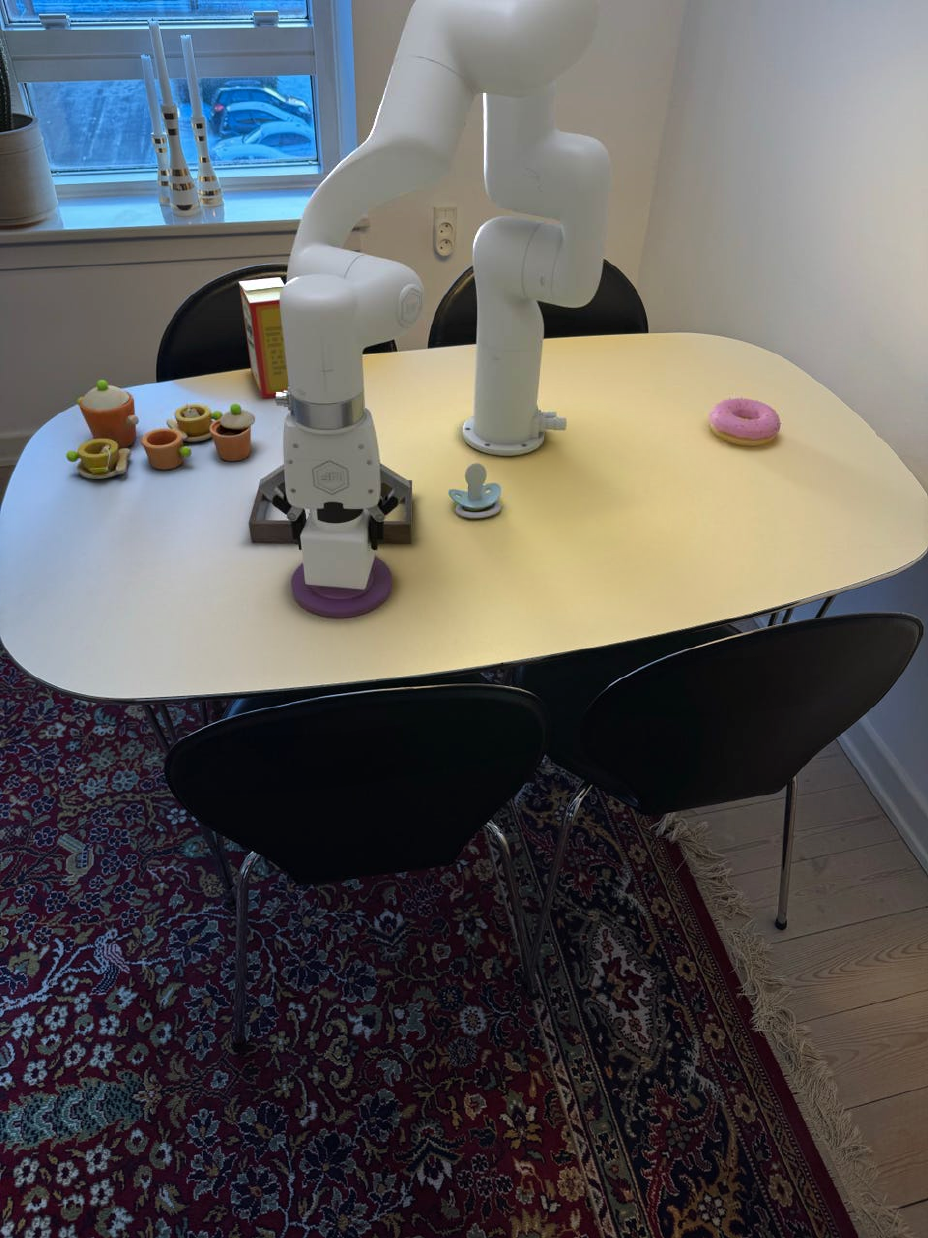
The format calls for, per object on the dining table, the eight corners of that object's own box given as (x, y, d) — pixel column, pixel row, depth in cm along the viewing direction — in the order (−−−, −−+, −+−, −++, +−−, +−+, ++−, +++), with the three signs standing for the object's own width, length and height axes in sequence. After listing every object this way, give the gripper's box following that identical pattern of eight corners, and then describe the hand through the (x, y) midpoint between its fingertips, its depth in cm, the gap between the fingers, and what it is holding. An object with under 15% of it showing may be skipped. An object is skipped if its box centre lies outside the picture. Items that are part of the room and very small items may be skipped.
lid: (393, 556, 108) (393, 549, 107) (390, 618, 99) (390, 611, 98) (297, 555, 107) (297, 548, 106) (286, 618, 98) (285, 610, 97)
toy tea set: (70, 487, 117) (50, 424, 111) (76, 433, 128) (58, 372, 122) (263, 465, 123) (254, 404, 117) (252, 415, 134) (244, 356, 128)
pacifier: (509, 517, 115) (494, 492, 120) (512, 477, 111) (497, 453, 115) (457, 525, 114) (444, 499, 118) (459, 485, 109) (445, 460, 114)
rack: (412, 498, 118) (412, 479, 116) (411, 543, 110) (411, 524, 108) (263, 497, 117) (260, 478, 115) (251, 542, 109) (248, 523, 107)
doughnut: (700, 441, 133) (706, 416, 130) (712, 410, 140) (718, 387, 138) (772, 456, 130) (779, 431, 127) (780, 424, 137) (787, 400, 135)
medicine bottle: (376, 554, 104) (372, 469, 96) (365, 591, 99) (361, 503, 91) (318, 549, 104) (310, 463, 96) (304, 585, 99) (295, 498, 91)
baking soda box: (302, 393, 141) (292, 296, 130) (262, 398, 139) (249, 300, 128) (289, 369, 147) (279, 274, 137) (251, 374, 145) (238, 278, 135)
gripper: (236, 420, 84) (259, 562, 96) (412, 422, 85) (414, 563, 97) (248, 386, 90) (268, 524, 101) (413, 388, 91) (414, 525, 102)
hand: (339, 542), depth 99 cm, fingers closed on medicine bottle, 7 cm apart
